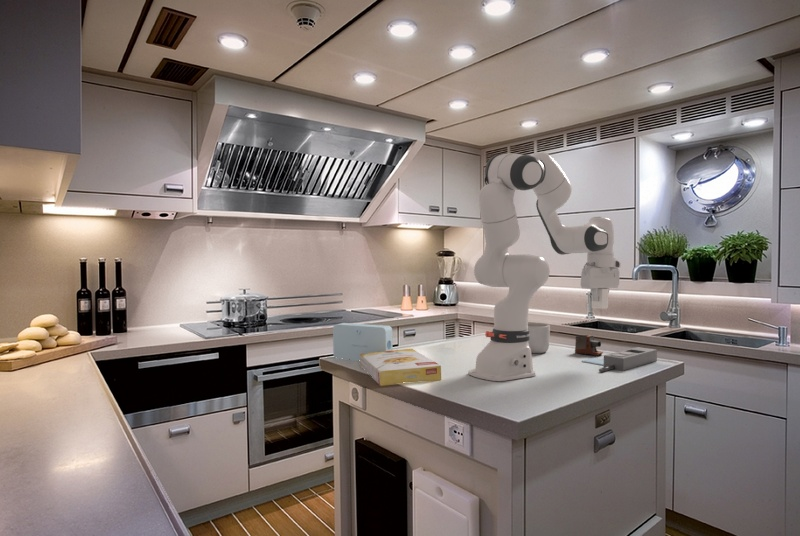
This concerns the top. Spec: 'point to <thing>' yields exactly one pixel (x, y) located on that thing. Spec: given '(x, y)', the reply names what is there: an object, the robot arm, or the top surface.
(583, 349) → the electronic device
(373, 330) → the light blue box
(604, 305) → the block
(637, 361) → the power strip
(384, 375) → the cereal box
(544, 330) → the planter
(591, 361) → the mat
